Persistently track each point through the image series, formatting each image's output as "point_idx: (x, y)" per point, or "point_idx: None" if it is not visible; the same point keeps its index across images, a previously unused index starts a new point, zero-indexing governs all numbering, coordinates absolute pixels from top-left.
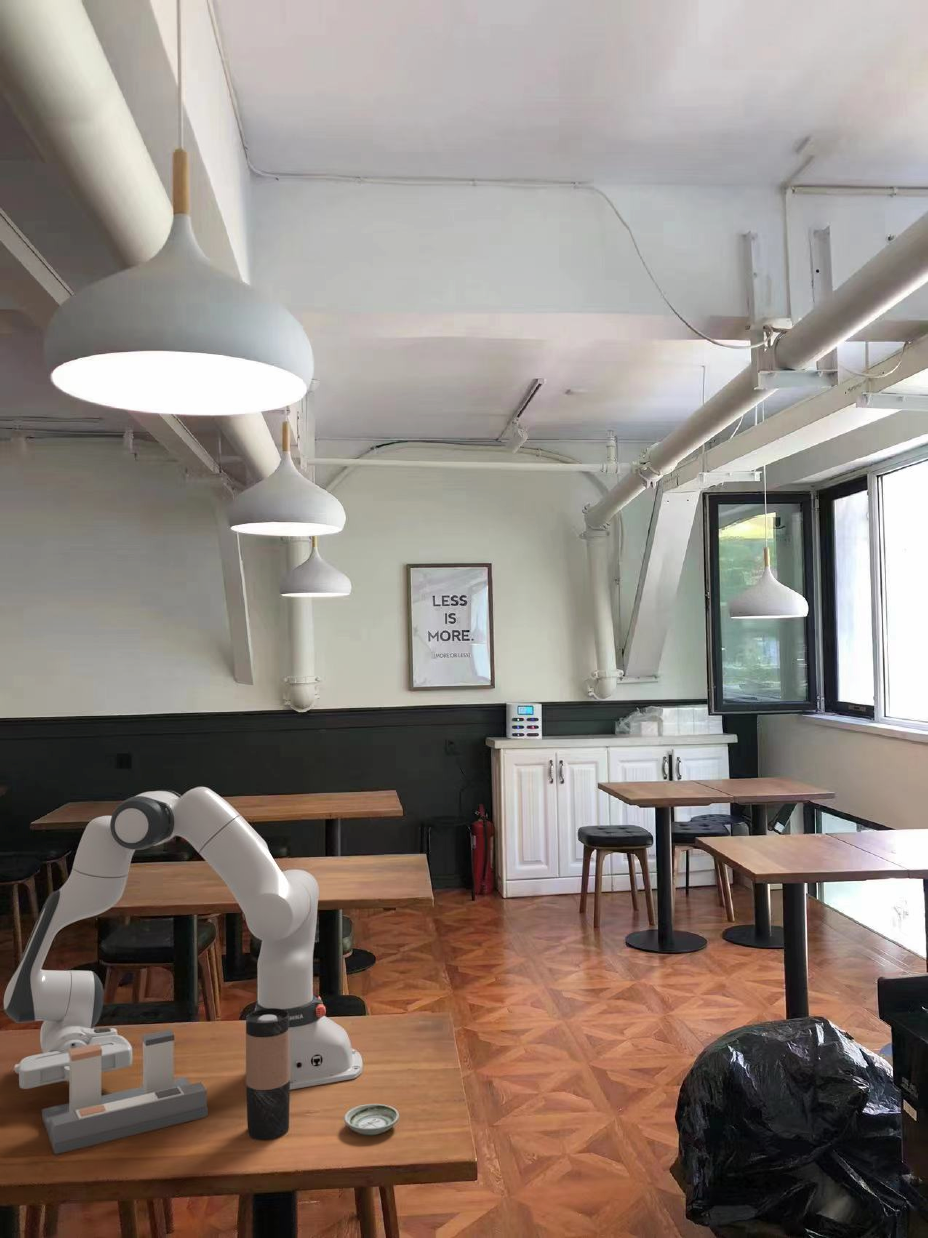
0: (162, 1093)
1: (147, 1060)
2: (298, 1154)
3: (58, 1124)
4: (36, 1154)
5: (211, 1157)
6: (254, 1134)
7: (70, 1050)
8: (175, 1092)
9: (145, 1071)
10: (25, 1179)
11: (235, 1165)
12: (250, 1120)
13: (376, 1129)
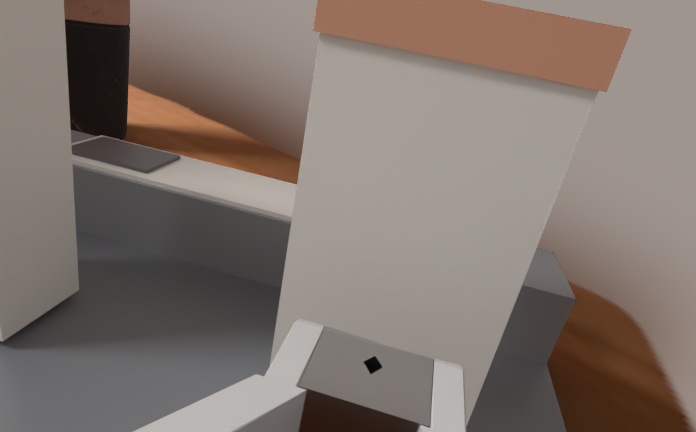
0: (143, 156)
1: (61, 76)
2: (142, 108)
3: (538, 248)
4: (582, 367)
5: (229, 152)
6: (126, 125)
7: (607, 25)
8: (111, 142)
9: (50, 158)
10: (591, 293)
11: (225, 134)
12: (124, 101)
13: None
